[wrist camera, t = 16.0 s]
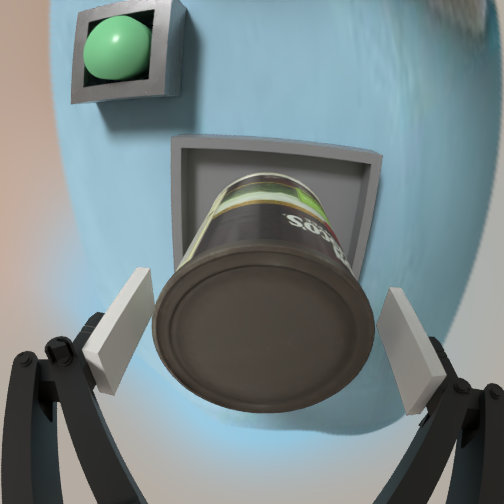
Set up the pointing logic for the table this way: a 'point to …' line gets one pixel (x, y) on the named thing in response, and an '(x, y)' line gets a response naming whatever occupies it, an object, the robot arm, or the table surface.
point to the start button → (119, 49)
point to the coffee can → (264, 303)
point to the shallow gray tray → (282, 162)
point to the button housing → (161, 59)
